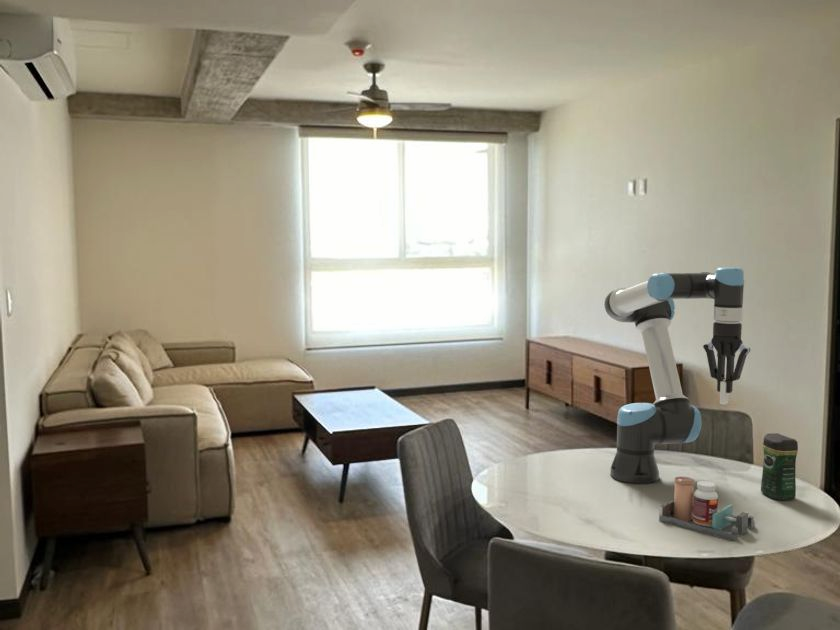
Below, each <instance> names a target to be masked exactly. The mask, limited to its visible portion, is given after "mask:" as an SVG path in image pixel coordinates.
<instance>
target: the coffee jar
mask: <svg viewBox="0 0 840 630" xmlns="http://www.w3.org/2000/svg"><path fill="white" fill-rule="evenodd" d="M798 444H799V443H798V440H797V439H794V438H792V437H789V436H786V435H783V434H780V433H777V432H776V433H773V432H771V433H767V434H765V436H764V437H763V442H762V450H763V464H762V465H763V466H762V473H761V481H760V492H761V493H762V494H764V495H765V496H767V497H769V498H771V499H773V500H781V501H782V500H783V501H790V500H793V499H795V498H796V493H797V492H796V491H797V487H796V486H797V485H796V484H797V483H796V482H797V481H796V468H797V467H796V465H797V464H796V463H797V462H796V460H797V456H798V453H799V452H798V451H799V449H798V448H799V447H798V446H799V445H798Z"/></svg>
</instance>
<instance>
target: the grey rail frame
mask: <svg viewBox="0 0 840 630" xmlns="http://www.w3.org/2000/svg"><path fill="white" fill-rule="evenodd" d="M672 516H673V517H672ZM736 516H737V515H736ZM736 516H735V515H733V514H732V517H733V518H736ZM754 519H755V516H753V515H748V529H749V530H752V529H753V528H755V524H756V522H755V520H754ZM658 521H659V522H662V523H666V524H670V525H673V526H678V527H680V528H681V527H682V528H685V529H688V530H691V531H697V532H700V533H703V534H707V535H710V536H714V537H718V538H722V539H726V540H729V541H732V542H734V541H736V540H737V539H738V538H739V535H738V527H736V525H735V526H734V525H733V526H732V527H731V532H729V531H725V530H723V529H722V530H718V529H714V528H712V527H707V526H703V525H699V524H696V523H694V522H693V521H692V522H691V521H684V520H680V519H677V518H674V498H673V499H671V500H669V501H667V502H665V503H663V504H662V505H660V506H659V517H658ZM732 523H734V524H736V522H733V521H732Z"/></svg>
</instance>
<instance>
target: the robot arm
mask: <svg viewBox="0 0 840 630" xmlns="http://www.w3.org/2000/svg"><path fill="white" fill-rule="evenodd" d="M744 273H745V272H744V269H742V268H741V267H731V266H730V267H717V268H716V269H715V273H714V272H713V273H712V272H708V271H705V272H703V271H701V272H690V273H689V272H684V273H681V272H680V273H677V272H676V273H675V272H674V273H672V272H671V273H666V272H659V273H653V274H651V275H650V277H649V278H648V280H647V281H644V282H641V283H638V284H636V285H634V286H631V287H628V288H626V287H619V288H616V289H614V290H612V291H611V292H609V293H608V294H607V296H606V297H605V299H604V310H605V312H606V314H607V315H608V316H609V317H610V318H611V319H613V320H614V321H617V322H621V323H634V324H635V329H636V331H638V332H639V333H641V336H642V341H643V346H644V349H645V354H646V360H647V364H648V367H649V369H648V370H649V372H650V377H651V382H652V386H653V391H654V396H655V401H654V402H653V403H650V402H633V403H628V404H625V405H623V406H621V407H620V408H619V409H618V411H617V412H618V413H617V419H616V425H617V426H616V452H615V454H614V455H615V456H614V457H613V459H612V463H611V466H610V477H611V478H612V479H615V480H618V481H620V482H624V483H629V484H638V485H639V484H641V485H642V484H652V483H654V482H658V481H659V480H660V470H659V466H658V464H657V459H656V457H655V445H667V444H670V445H672V444H680V445H681V444H684V443H692V442H695V441H696V440H697V438H698V437H699V435H700V434H701V433H700V432H701V428H702V415H701V412H700V410H699V409H698V408H697V407H696V406H694V405H691V403H690V399H689V397H687V396H685V395H684V394H683V389H682V385H681V381H680V376H679V372H678V367H677V364H676V360H675V355H674V350H673V346H672V342H671V337H670V332H669V329H668V328H669V327H670V326H671V323H672V320H673V319H674V316H675V313H676V312H675V310H676V308H675V307H676V306H675V302H674V300H681V299H684V300H686V299H689V300H691V299H694V300H695V299H696V300H697V299H709V300H710V299H711V300H714V305H713V320H714V321H715V322H714V323H713V325H712V326H713V327H712V338H711V339H710V341H709V342H708V343H705V344H703V346H702V348H703V350H704V351H705V352H706V353H705V354H706V358H707V363H708V364H707V365H708V368H709V373H710V377H711V378H712V379H715V380H716V383H717V384H716V387H717V388H716V391H717V392H719V404H720V405H727V404H729V402H730V401H729V399H730V394H731V393H733V385H734V382H735V381H738V380H740V378H741V375H742V372H743V369H744V364H745V361H746V358H747V356H748V355H749V353H750V352H751V348H750V347H747V346H745V345H744V344H743V340H742V329H743V327H742V326H743V324H742V321H743V304H744V303H743V302H744V289H745V288H744V287H745V285H744V284H745V280H744V277H745V276H744ZM714 349H715V351H716V352H717V353H716V354H715V351H714ZM738 351H739V355H738V357H737V361H736V364H735V358H736V353H737V352H738ZM715 355H717V356H715ZM716 357H717V359H716Z"/></svg>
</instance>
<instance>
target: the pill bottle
mask: <svg viewBox="0 0 840 630" xmlns="http://www.w3.org/2000/svg"><path fill="white" fill-rule="evenodd" d="M696 483H697V484H696V487H697V488H696V490H694V497H693V519H692V523H696V524H699V525H703V526H707V527H711V528H712V518H713V514H714V513H716V512H718V505H719V504H718V503H719V495H718V492H716V488H717V487H716V483H715V482H712V481H709V480H708V481H706V480H701V481H697V482H696Z"/></svg>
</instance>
